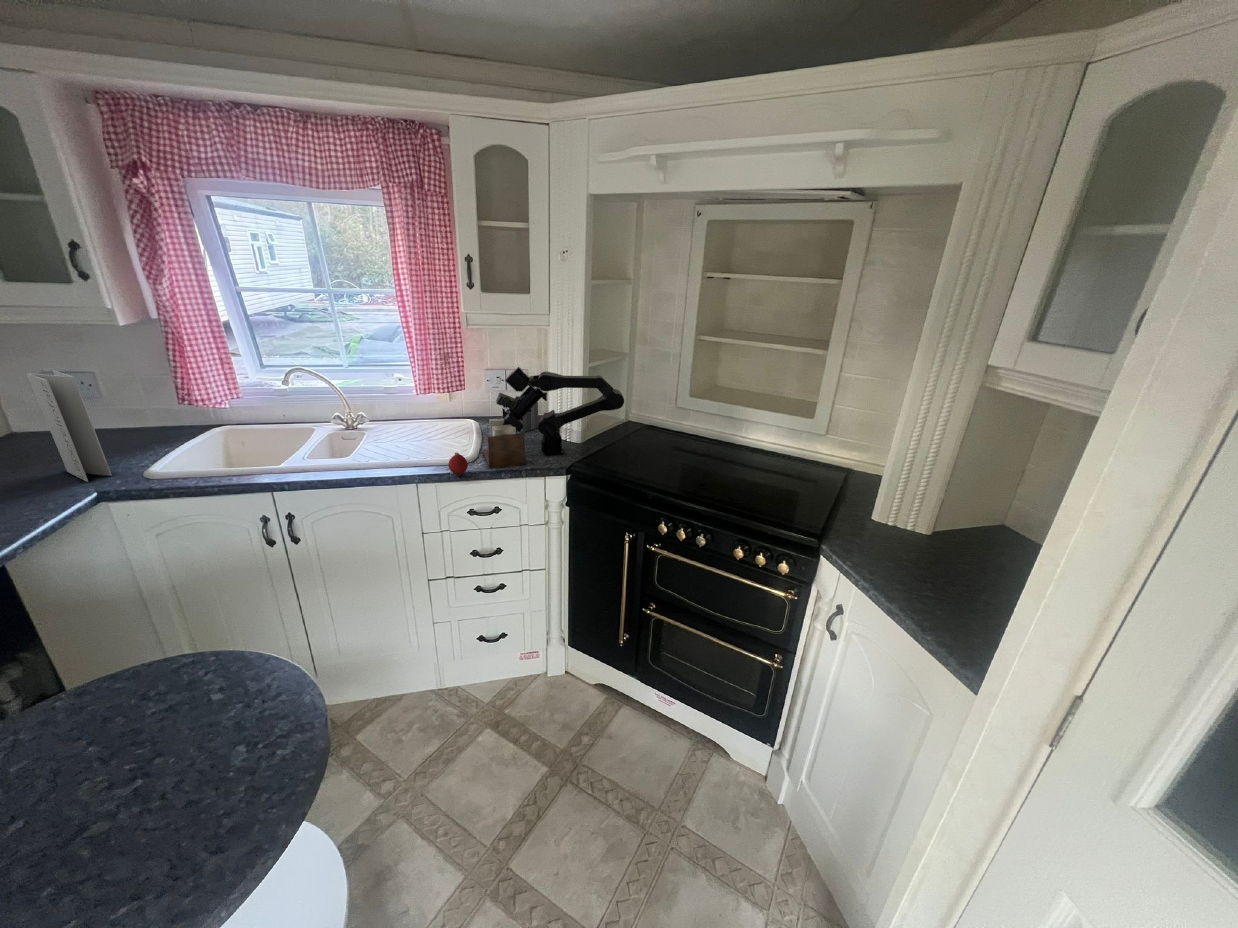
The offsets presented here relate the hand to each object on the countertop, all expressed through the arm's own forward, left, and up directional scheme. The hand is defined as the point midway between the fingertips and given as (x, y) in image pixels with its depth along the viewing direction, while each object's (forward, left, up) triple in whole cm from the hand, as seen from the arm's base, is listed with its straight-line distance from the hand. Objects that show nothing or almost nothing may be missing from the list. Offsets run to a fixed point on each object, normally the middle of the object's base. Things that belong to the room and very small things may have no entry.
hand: (496, 432), depth 174 cm
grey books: (-16, -27, -8) cm, 32 cm away
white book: (-1, +1, -7) cm, 7 cm away
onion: (+15, +16, -8) cm, 23 cm away
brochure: (+119, -18, -8) cm, 121 cm away
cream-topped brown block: (-1, +5, -8) cm, 9 cm away
